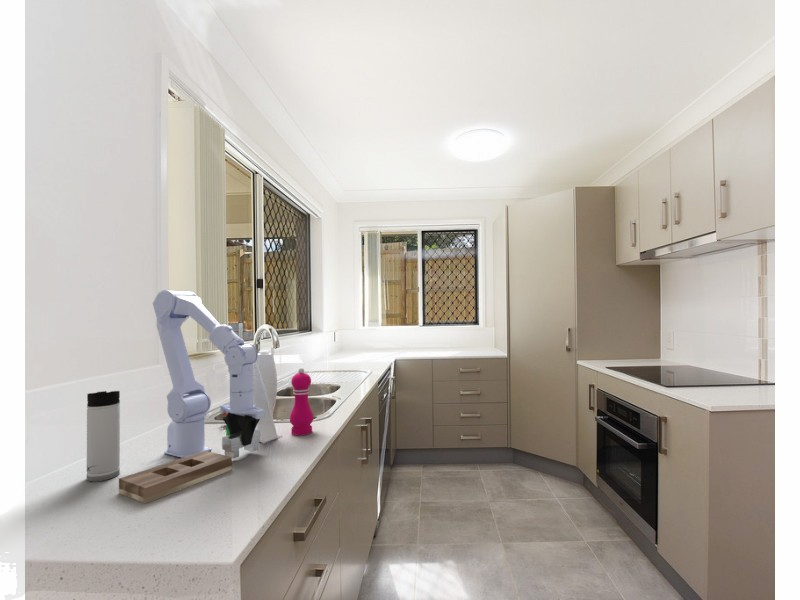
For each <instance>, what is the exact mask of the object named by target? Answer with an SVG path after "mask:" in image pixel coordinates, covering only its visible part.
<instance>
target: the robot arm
mask: <svg viewBox="0 0 800 600" xmlns="http://www.w3.org/2000/svg"><path fill="white" fill-rule="evenodd" d="M152 306H153V309H154V313H155V317H156V328H157V329H156V330H157V332H158V336H159V340H160V342H161V347H162V350H163V354H164V358H165V361H166V365H167V369H168V373H169V376H170V380H171V382H172V388H171V389H170V391H169V392H168V394H167V395H166V399H167V414H168V416H169V418H170V419H171V421H170V423H169V425H168V426H167V434H166V435H167V437H166V438H167V443H166V445H167V446H166V449H167V450H165V451H163V453H164V454H166V455H169V456H174V457H177V458H180V459H181V458H184V457H187V456H190V455H194V454H197V453H200V452H203V451H209V452H211V451H212V449H213V448H212V447H209V446H205V435H206V434H205V417H207V413H208V412H209V410H210V409H211V406H212V401H211V397H210V395H209V394H208V392H207V391H206V389H205V387H204V385H203V384H202V383H200V382H199V381H197V380H196V379H195V374H194V372H193V368H192V364H191V360H190V357H189V353H188V350H187V346H186V342H185V339H184V335H183V332H182V328H181V327H182V325H183V324H184V323H185V322H186V321H187V320H188V319H189V318H191V319H193V321H195V322H196V323H197V324H198V325H199V326H201V328H203V329H204V330H205V331H206V332H208V334H209V335H208V339H209V341H210V342H211V343H212V344H213V345H214V346H215V347H216V348H217V349H218V350H219V351H220V353H222V354H223V356H224V361H225V362H224V363H225V364H226V365H227V368H228V370H227V371H228V373H229V403H228V404H230V405H228V404H223V405H220V407H219V408H220V409H219V411H220V414H222V413H228V415H227V416H225V417H223V416H222V421H223V420H224V421H223V422H224V424H225V426H226V425H227V427H228V430H229V432H230V435H231V434H234V433H238V432H241V434H242V443H243V446H246V445H249V444H251V442H252V438H253V434H254V431H255V428H256V426H257V424H258V422H259V420H260V419H261V418H264V410H261V409H259V408H256V405H253V363H255V362H256V360H257V357H258V353H259V351H258V350H257V348H256V347H255V345H254V344H253V343H251V342H246V341H245V340H244V338H241V337H240V336H239V335H238V334H237V333H236V332H235V331H234V328H233V327H232V326H231V325H228V324H220V322H218V320H217V319H216V318H215V317H214V316H213V314H212V313H211V312H210V311H209V310H208V309H207V308H206V306H204V304H203V303H202V298H201V297H200V296H198V295H197V293H195V292H194V291H191V290H189V291H179V290H169V289H163V290H161V291H159V292H158V293H157V295H156V296H155V298H154V300H153V302H152ZM244 417H245V418H244Z"/></svg>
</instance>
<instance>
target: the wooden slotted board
mask: <svg viewBox="0 0 800 600" xmlns="http://www.w3.org/2000/svg"><path fill="white" fill-rule="evenodd" d="M232 464H233V458H232V457H230V456H225V454H220V453H216V452H213V451H203V452H200V453H197V454H194V455H190V456H187V457H184V458H181V457H180V458H178V459H176V460H172V461H169V462H166V463H163V464H160V465H157V466H156V465H155V466H154V467H150V468H148V469H144V470H141V471H138V472H136V473H135V472H134V473H132V474H129V475H126V476H123V477H120V478H118V494H120V495H122V496H124V497H128V498H129V499H130V498H131V499H133V500H136V501H138V502H139V503H140V502H141V503H143V504H149V503H150V502H153V501H155V500H157V499H161V498H163V497H165V496H168V495H171V494H173V493H175V492H179V491H181V490H183V488H184V489H186V488H189V487H191V486H194V485H196V484H199V483H201V482H203V481H206V480H209V479H211V478H214V477H216V476H219V475H221V474H224V473H227V472H230V471H232V470H233V469H232V467H233V465H232ZM188 486H189V487H188ZM180 489H181V490H180ZM178 490H179V491H178Z"/></svg>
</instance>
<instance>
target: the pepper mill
mask: <svg viewBox="0 0 800 600" xmlns="http://www.w3.org/2000/svg"><path fill="white" fill-rule="evenodd" d="M297 371H298V373H296V374H294V375H293V376H292V377H291V382H290V383H291V386H292V388H293V392H292V393H293V395H294V404H293V407H292V410H291V412H290V414H289V415H290V416H289V422H290V424H291V435H292V436H307V435H309V434H312V433H313V426H312V425H311V424H312V423H313V421H314V412H313V410H312V408H311V406H310V403H309V394H310V386H311V384H312V378H311V376H310V375H309V374H308V373H305V370H304V368H303V367H300V368H298V370H297Z"/></svg>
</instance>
